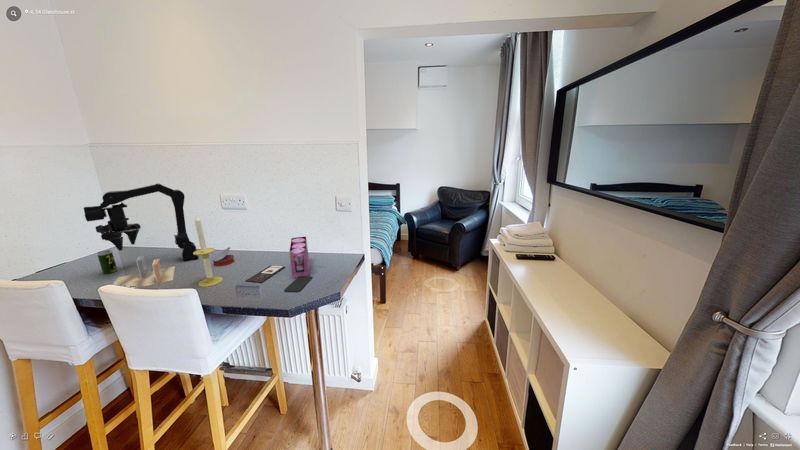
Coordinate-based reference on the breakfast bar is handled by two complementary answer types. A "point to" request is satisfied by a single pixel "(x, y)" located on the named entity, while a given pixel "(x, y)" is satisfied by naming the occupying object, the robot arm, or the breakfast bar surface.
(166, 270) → the oak board
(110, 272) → the guarana soda can
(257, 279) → the chocolate bar
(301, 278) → the phone
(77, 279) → the breakfast bar surface
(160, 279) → the terracotta tile
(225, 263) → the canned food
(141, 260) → the slate tile
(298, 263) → the gum box
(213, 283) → the candle
